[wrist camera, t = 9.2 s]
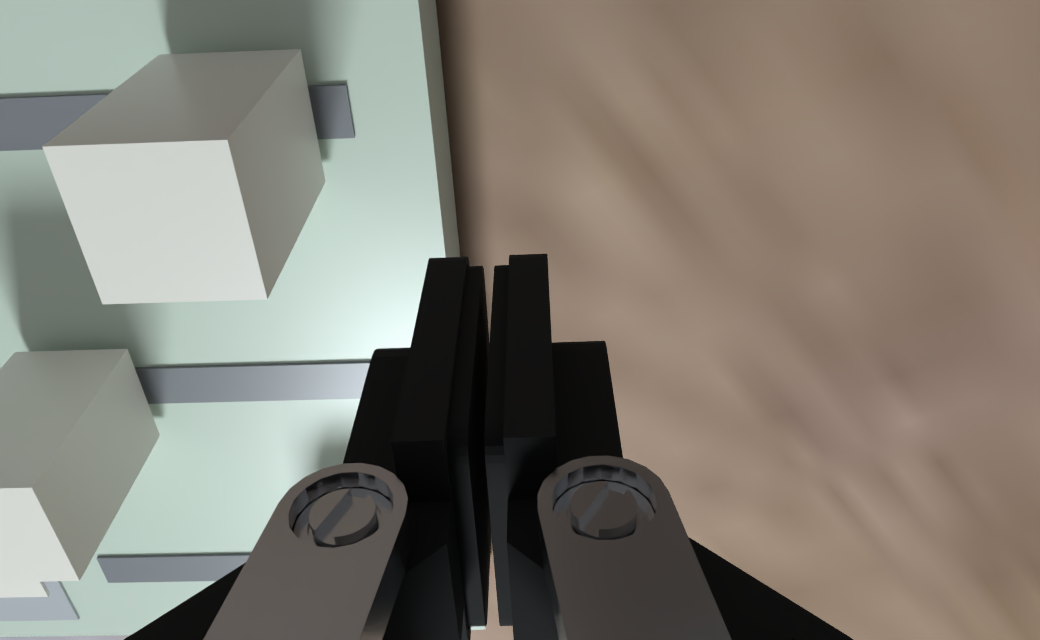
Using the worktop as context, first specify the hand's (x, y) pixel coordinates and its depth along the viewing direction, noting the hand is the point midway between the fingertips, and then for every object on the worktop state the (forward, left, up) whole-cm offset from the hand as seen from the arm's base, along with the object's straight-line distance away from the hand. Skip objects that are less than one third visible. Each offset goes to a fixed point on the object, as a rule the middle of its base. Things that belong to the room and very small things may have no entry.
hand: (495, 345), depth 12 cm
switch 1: (+12, +7, -8) cm, 16 cm away
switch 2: (+6, -1, -8) cm, 10 cm away
